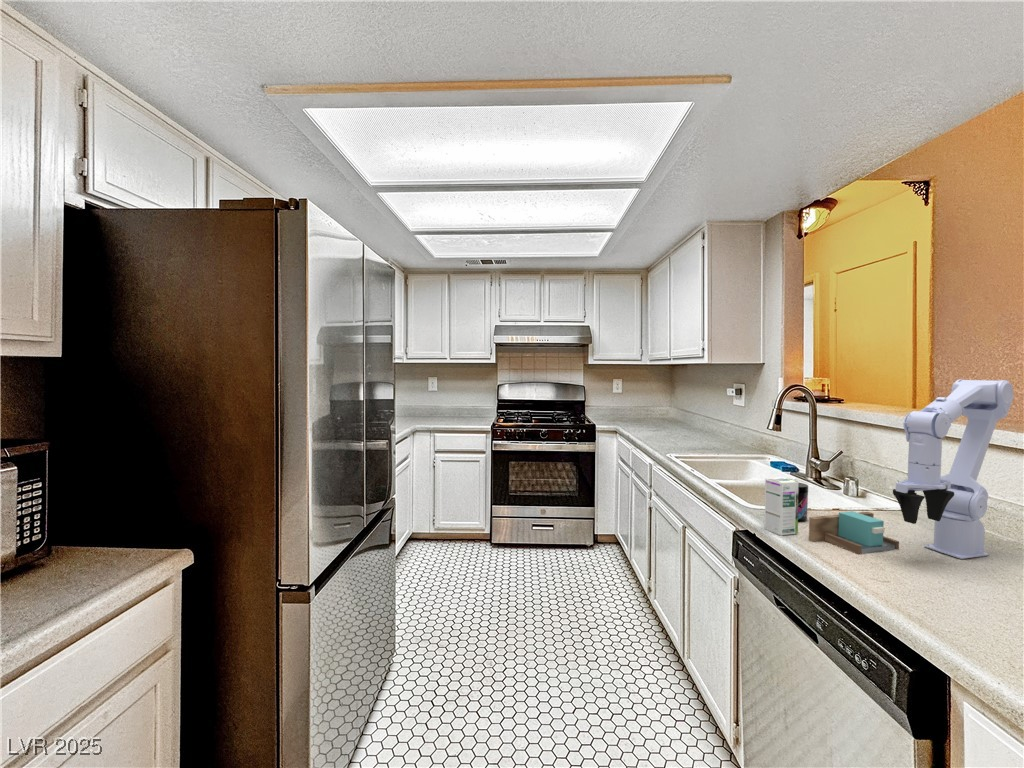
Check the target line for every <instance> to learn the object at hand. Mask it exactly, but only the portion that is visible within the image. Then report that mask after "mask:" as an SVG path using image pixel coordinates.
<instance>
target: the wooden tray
mask: <svg viewBox="0 0 1024 768" xmlns="http://www.w3.org/2000/svg"><path fill="white" fill-rule="evenodd" d="M858 513H859V514H863V515H866V516H869V517H872V518H875V517H874V515H875V514H874V512H870V511H861V512H858ZM808 522H809V523H808V524H809V526H808V541H811V542H813V543H817V542H818V543H819V542H826V541H827V542H826V543H829V544H831V543H832V544H831V545H834V546H836V545H837V547H839V546H840V547H839V548H841V547H843V548H842V549H844V548H845V549H844V550H846V549H848V550H847V551H849V550H850V551H849V552H851V551H852V553H854V552H855V554H856V553H857V554H856V555H863V554H862V546H861V545H859V544H856V543H853V542H851V541H848V540H845V539H843V538H840V537H837V536H835V535H838V528H839V514H830V515H819V516H810V517H809V519H808ZM883 541H886V542H889V543H891V544H894V545H895V549H898V550H899V549H900V540H896V539H893V538H890V537H888V536H885V535H883Z"/></svg>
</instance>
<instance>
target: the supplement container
mask: <svg viewBox="0 0 1024 768" xmlns="http://www.w3.org/2000/svg"><path fill="white" fill-rule="evenodd" d="M808 501H809V485H808V484H806V483H805V482H804V483H803V482H799V481H798V523H801V522H803V523H804V522H806V521H807V520H808V507H809V506H808V505H809V504H808V503H809V502H808Z"/></svg>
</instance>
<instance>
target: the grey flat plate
mask: <svg viewBox="0 0 1024 768" xmlns="http://www.w3.org/2000/svg"><path fill="white" fill-rule="evenodd" d="M835 536H837V537H840V538H843V539H845V540H848V541H851V542H853V543H856V544H859V545H861V546H862V553H864V554H871V553H878V552H879V553H880V552H886V551H887V550H888V551H894V550H893V549H895V545H894V544H891V543H889V542H886V541H883V545H878V546H870V547H869V546H866V545H863V544H861V543H858V542H855V541H853V540H850V539H847V538H844V537H842V536H839V535H835Z"/></svg>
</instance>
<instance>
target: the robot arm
mask: <svg viewBox="0 0 1024 768" xmlns="http://www.w3.org/2000/svg"><path fill="white" fill-rule="evenodd" d="M1013 388H1014V387H1013V385H1012V383H1010V382H1009V381H1008V380H1007V379H1006V380H1005V379H1001V380H992V379H991V380H989V379H988V380H987V379H986V380H984V379H982V380H981V379H979V380H978V379H977V380H976V379H961V378H959V379H957V380H955V382H953V383H952V386H951V390H950V391H951V392H950V394H949V395H947V396H945V397H943V396H939V397H938V396H937V397H936V398H935V399H934V400H933V401H932V402H931V403H929V404H928V405H926V406H925V407H924V408H922V409H921V410H919V411H918V410H913V411H911V412H909V413H907V414H906V416H905V418H904V421H903V430H904V432H905V440H906V442H907V443H908V456H907V457H908V458H907V479H905V480H903V481H900V482H895V488H894V489H892V494H893V495H894V497H895V499H896V500H897V503H898V505H899V507H900V510H901V513H902V518H903V521H904V522H906V523H910V524H912V525H913V524H914V525H916V524H917V522H918V518H919V517H918V516H919V510H920V507H921V504H922V502H923V501H924V499H925V504H926V515H927V519H928V520H932V521H934V529H933V530H934V532H933V543H930V544H924V546H923V547H924V548H925V549H926V548H927V549H930V550H933V551H936V552H938V553H942V554H945V555H947V556H948V555H949V556H951V557H954V558H957V559H960V560H966V559H971V558H972V559H973V558H979V557H986V556H989V553H987V552H985V534H986V533H985V531H986V530H985V529H986V528H985V526H984V524H983V522H982V520H980V519H982V518H984V517H985V515H986V513H987V510H988V499H989V493H988V491H987V489H986V488H985V487H984V486H983V485H981V483H979V482H978V478H979V474H980V471H981V468H982V466H983V462H984V460H985V456H986V454H987V450H988V448H989V444H990V441H991V439H992V436H993V433H994V431H995V428H996V425H997V422H998V421H999V420H1001V419H1002V420H1003V419H1004V418H1006V417H1008V413H1009V411H1010V409H1011V405H1012V403H1013V401H1014V389H1013ZM961 416H963V417H966V418H967V419H968V420H967V423H966V426H965V429H964V431H963V433H962V436H961V440H960V442H959V445H958V448H957V451H956V453H955V455H954V460H953V463H952V464H951V467H950V471H949V473H947V474H945V475H941V474H942V453H943V452H942V450H943V438H946V436H947V435H948V433H949V429H950V428H951V426H952V423H954V421H956V420H957V419H959V418H960V417H961ZM920 491H921V492H923V495H920V494H917V492H920Z"/></svg>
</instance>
